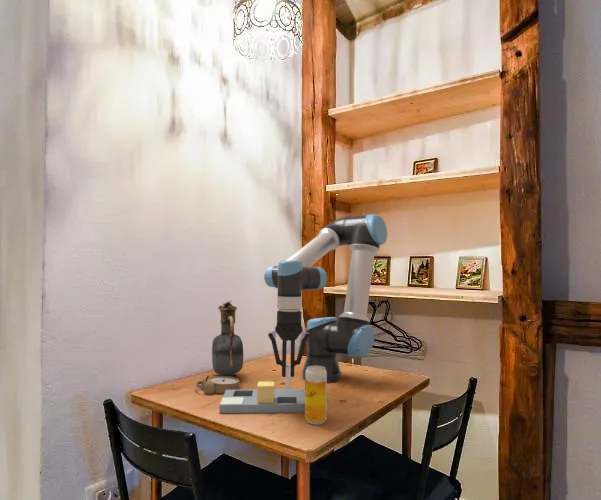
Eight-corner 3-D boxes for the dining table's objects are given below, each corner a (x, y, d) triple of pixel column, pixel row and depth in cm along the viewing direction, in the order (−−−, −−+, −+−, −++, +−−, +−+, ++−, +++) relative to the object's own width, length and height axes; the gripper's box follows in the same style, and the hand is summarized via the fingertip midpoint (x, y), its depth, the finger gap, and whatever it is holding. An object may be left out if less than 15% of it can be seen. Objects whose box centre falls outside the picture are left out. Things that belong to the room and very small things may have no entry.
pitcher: (237, 372, 172) (238, 297, 173) (246, 385, 154) (247, 302, 155) (210, 374, 168) (211, 298, 169) (216, 387, 150) (217, 303, 151)
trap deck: (304, 396, 141) (304, 389, 142) (307, 412, 126) (307, 404, 127) (225, 396, 140) (226, 389, 140) (219, 413, 125) (219, 405, 125)
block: (274, 397, 133) (274, 381, 133) (273, 402, 128) (274, 386, 128) (258, 397, 132) (258, 381, 132) (257, 403, 127) (257, 386, 127)
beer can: (304, 417, 122) (304, 365, 123) (324, 417, 123) (325, 365, 123) (306, 425, 116) (306, 370, 117) (327, 425, 117) (328, 370, 117)
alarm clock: (244, 383, 146) (200, 380, 140) (241, 398, 146) (198, 395, 140) (235, 375, 156) (195, 372, 151) (233, 389, 156) (192, 386, 150)
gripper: (309, 309, 135) (308, 384, 134) (268, 308, 134) (266, 384, 133) (311, 311, 127) (309, 391, 126) (267, 311, 126) (266, 391, 126)
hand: (287, 387), depth 130 cm, fingers closed
